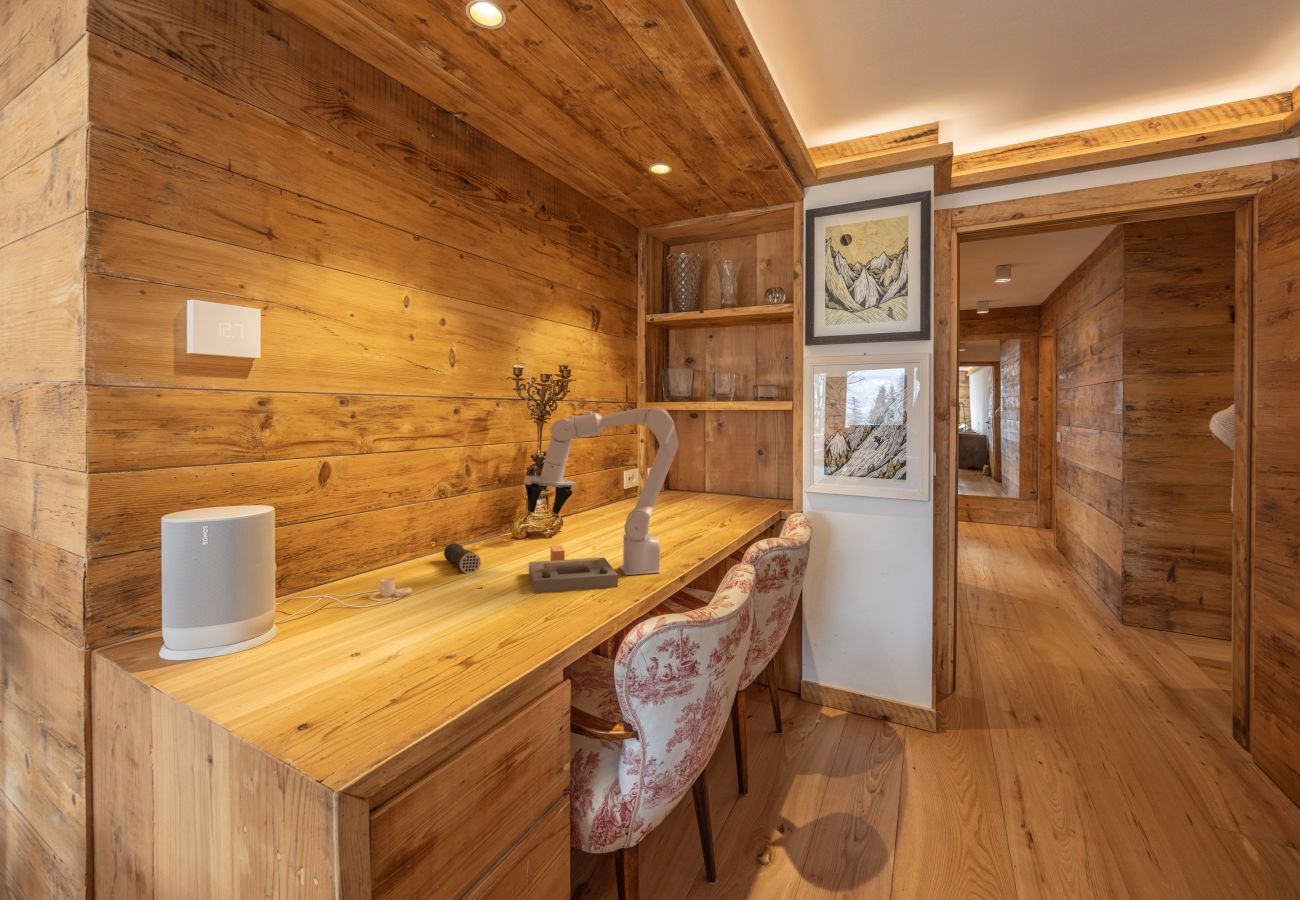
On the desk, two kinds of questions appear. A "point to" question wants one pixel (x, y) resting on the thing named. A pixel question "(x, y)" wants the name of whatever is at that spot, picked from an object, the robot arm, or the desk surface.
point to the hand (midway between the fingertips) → (543, 512)
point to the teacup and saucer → (389, 590)
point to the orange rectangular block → (557, 553)
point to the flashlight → (462, 558)
